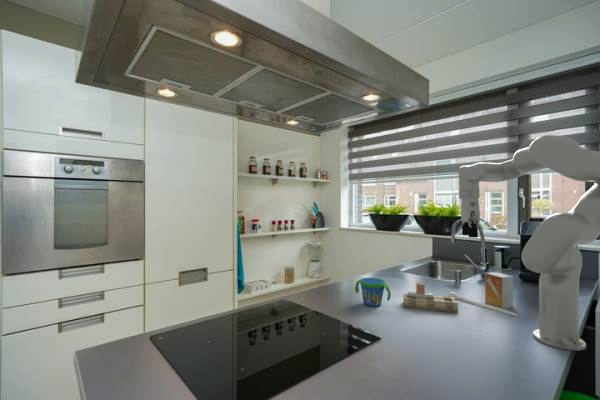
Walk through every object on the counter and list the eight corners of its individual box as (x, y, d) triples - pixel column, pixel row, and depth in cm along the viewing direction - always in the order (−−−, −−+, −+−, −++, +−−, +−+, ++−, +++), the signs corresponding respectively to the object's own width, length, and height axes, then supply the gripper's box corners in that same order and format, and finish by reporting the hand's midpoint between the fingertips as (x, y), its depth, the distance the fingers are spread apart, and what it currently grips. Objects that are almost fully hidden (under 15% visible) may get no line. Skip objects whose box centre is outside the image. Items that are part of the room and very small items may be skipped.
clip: (433, 306, 122) (433, 285, 122) (408, 304, 124) (408, 283, 124) (432, 304, 124) (432, 283, 125) (407, 301, 127) (407, 281, 127)
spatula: (520, 316, 116) (520, 308, 116) (515, 318, 113) (515, 310, 113) (452, 296, 140) (452, 290, 140) (446, 297, 137) (446, 291, 137)
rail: (457, 312, 117) (457, 302, 117) (404, 307, 123) (404, 298, 123) (454, 307, 124) (454, 297, 124) (403, 302, 130) (403, 293, 130)
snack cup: (395, 306, 125) (395, 281, 125) (381, 312, 118) (381, 286, 118) (364, 297, 136) (364, 275, 136) (350, 302, 129) (350, 279, 129)
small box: (484, 302, 130) (484, 272, 130) (495, 301, 132) (495, 271, 132) (502, 308, 122) (502, 277, 122) (513, 307, 124) (513, 276, 124)
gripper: (486, 194, 115) (486, 238, 114) (472, 195, 131) (473, 234, 131) (464, 194, 117) (465, 238, 116) (454, 195, 133) (454, 234, 133)
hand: (469, 236), depth 124 cm, fingers open, 9 cm apart
